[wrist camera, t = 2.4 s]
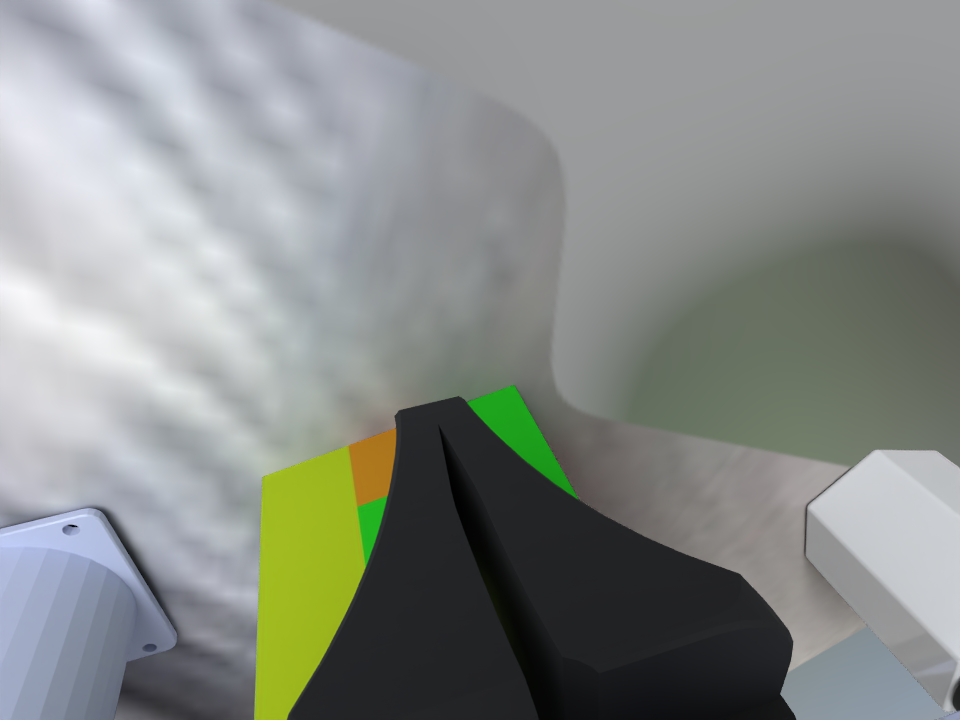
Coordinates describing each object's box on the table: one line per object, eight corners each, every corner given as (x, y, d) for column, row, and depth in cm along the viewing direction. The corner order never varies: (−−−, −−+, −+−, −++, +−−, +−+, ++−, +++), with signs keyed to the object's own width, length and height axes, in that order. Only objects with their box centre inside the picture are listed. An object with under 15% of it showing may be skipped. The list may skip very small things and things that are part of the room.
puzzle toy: (355, 623, 29) (385, 882, 21) (262, 476, 23) (252, 752, 15) (555, 544, 30) (660, 763, 22) (513, 383, 24) (634, 597, 16)
